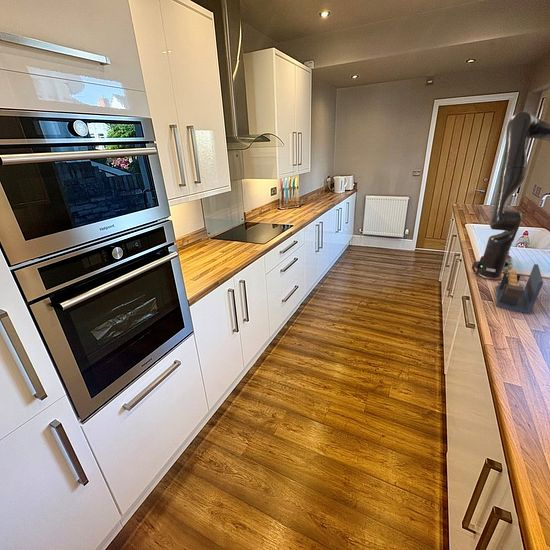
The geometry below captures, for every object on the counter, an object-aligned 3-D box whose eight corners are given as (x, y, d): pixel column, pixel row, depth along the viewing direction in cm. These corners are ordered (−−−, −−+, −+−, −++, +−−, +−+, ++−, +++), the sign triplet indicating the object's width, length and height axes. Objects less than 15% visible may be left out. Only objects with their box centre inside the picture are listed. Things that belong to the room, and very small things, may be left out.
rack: (496, 287, 135) (506, 259, 129) (526, 293, 130) (538, 264, 123) (496, 306, 121) (507, 275, 115) (530, 314, 115) (543, 282, 109)
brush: (503, 275, 131) (506, 268, 130) (517, 277, 128) (520, 270, 127) (504, 295, 115) (507, 287, 113) (520, 298, 112) (523, 291, 111)
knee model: (507, 266, 167) (506, 276, 149) (493, 258, 170) (490, 266, 152) (520, 254, 162) (520, 262, 144) (506, 245, 166) (504, 252, 147)
